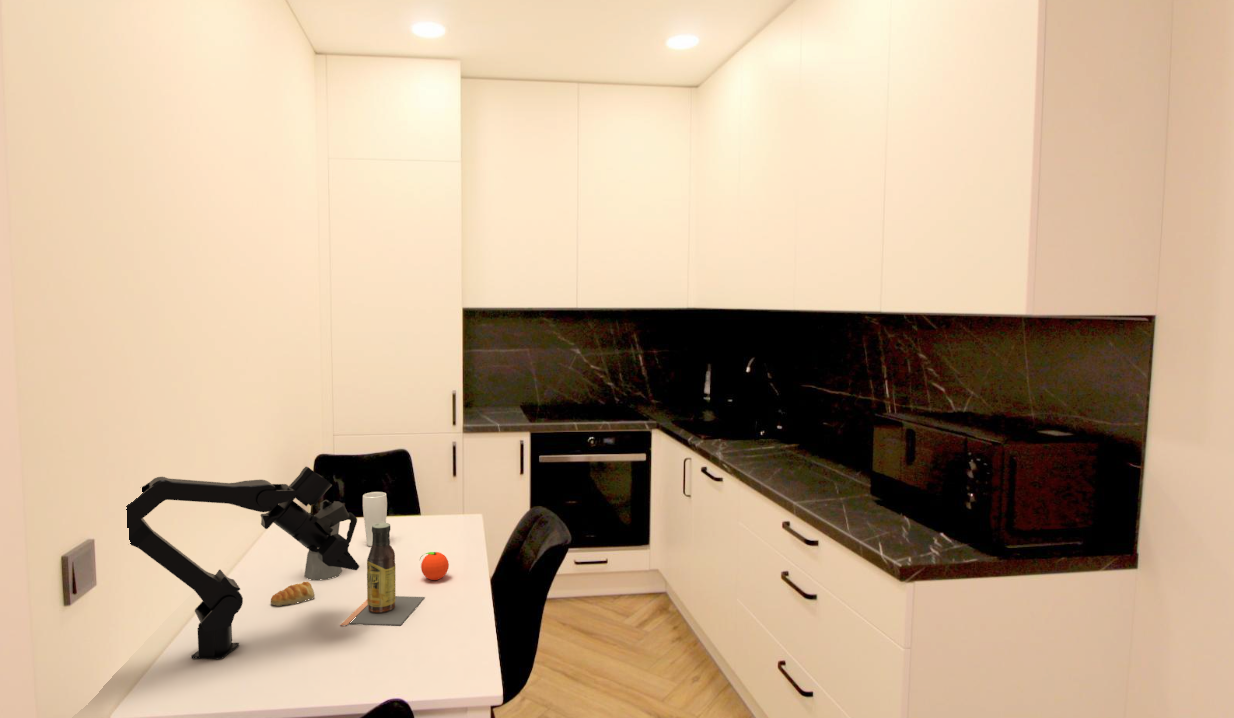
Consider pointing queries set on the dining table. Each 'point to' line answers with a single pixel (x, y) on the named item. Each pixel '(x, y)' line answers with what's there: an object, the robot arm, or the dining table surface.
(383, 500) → the drinking glass
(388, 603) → the sauce bottle
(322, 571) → the coffeepot
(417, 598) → the charcoal mat
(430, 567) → the clementine
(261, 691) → the dining table surface
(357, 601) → the dining table surface
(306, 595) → the pastry
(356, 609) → the terracotta line
